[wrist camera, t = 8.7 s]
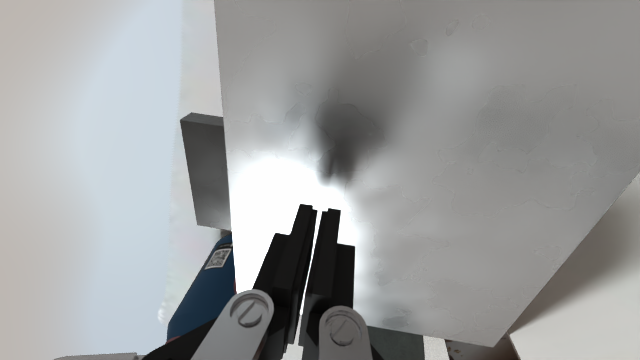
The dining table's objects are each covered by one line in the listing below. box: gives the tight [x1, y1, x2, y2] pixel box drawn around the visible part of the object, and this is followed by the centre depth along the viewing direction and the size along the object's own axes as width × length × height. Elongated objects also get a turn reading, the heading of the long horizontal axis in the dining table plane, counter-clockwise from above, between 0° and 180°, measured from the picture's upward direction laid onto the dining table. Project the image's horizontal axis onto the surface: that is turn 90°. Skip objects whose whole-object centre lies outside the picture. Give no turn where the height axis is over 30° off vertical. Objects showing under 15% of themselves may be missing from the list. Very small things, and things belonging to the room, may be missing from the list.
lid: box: [180, 0, 640, 347], centre depth 14 cm, size 19×19×1 cm
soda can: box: [166, 234, 237, 344], centre depth 27 cm, size 7×7×12 cm
